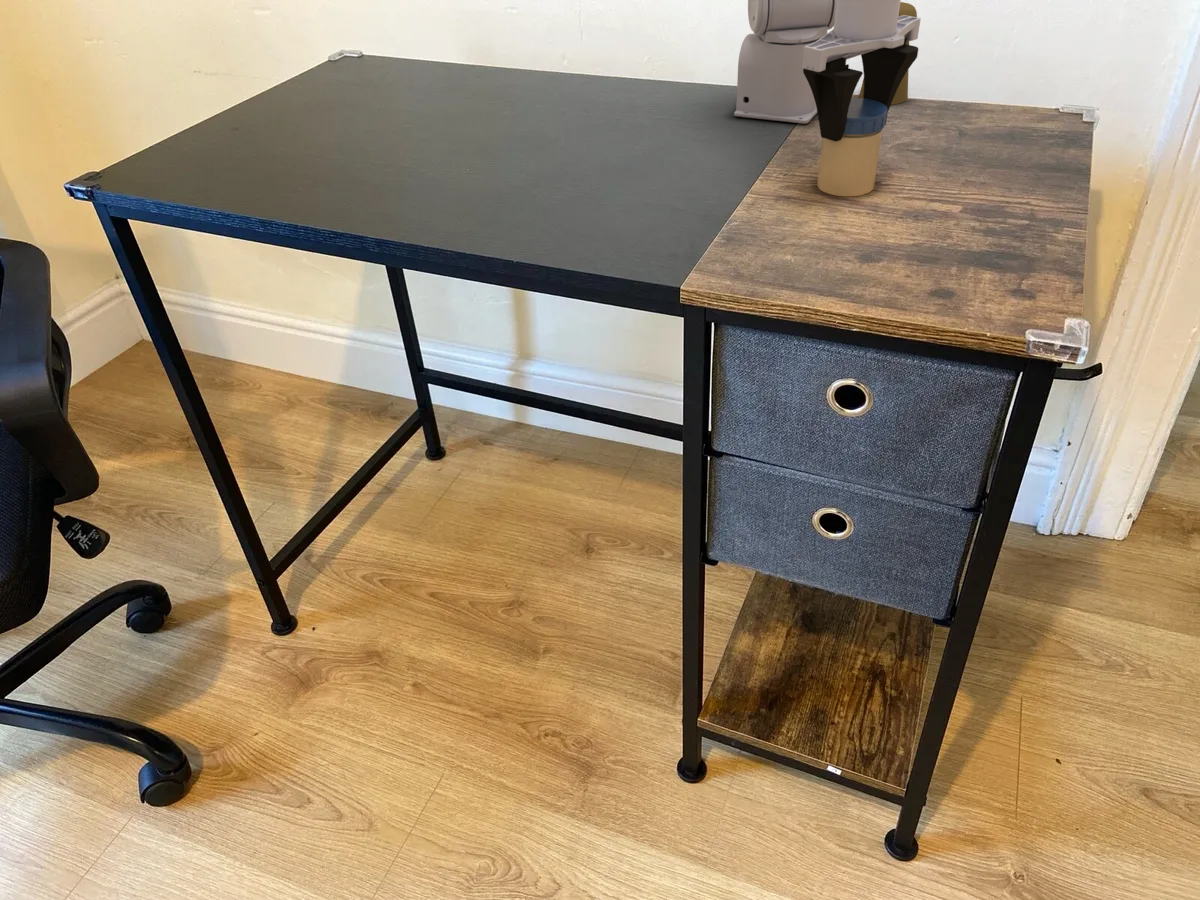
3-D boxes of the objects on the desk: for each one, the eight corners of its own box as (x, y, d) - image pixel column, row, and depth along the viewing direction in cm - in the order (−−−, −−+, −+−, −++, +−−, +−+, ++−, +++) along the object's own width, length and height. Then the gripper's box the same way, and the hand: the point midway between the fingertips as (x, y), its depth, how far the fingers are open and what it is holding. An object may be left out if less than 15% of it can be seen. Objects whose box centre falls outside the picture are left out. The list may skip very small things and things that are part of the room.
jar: (810, 192, 91) (817, 120, 86) (825, 171, 95) (833, 101, 90) (866, 199, 89) (877, 126, 84) (879, 178, 93) (890, 107, 88)
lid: (857, 139, 84) (859, 122, 83) (808, 124, 88) (810, 108, 87) (898, 123, 87) (900, 107, 86) (848, 109, 91) (850, 93, 90)
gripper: (853, 0, 74) (835, 159, 82) (957, -30, 80) (930, 120, 89) (790, -11, 78) (779, 141, 87) (893, -38, 85) (873, 105, 93)
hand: (852, 130), depth 88 cm, fingers closed on lid, 6 cm apart
